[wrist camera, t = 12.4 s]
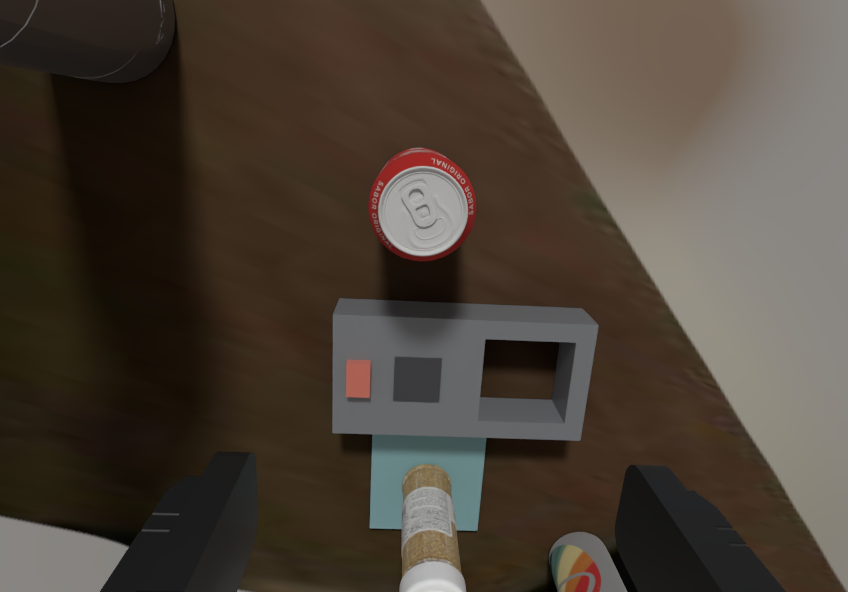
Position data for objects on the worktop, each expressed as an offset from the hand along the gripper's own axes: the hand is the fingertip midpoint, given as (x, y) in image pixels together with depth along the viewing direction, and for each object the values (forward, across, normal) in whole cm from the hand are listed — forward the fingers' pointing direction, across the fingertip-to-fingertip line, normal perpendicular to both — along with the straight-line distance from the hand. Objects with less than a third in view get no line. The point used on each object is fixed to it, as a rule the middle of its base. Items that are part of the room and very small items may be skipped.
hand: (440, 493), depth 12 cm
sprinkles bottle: (+31, -2, +23) cm, 39 cm away
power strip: (+32, -4, +11) cm, 34 cm away
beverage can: (+32, 0, -3) cm, 32 cm away
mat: (+32, -2, +23) cm, 39 cm away
